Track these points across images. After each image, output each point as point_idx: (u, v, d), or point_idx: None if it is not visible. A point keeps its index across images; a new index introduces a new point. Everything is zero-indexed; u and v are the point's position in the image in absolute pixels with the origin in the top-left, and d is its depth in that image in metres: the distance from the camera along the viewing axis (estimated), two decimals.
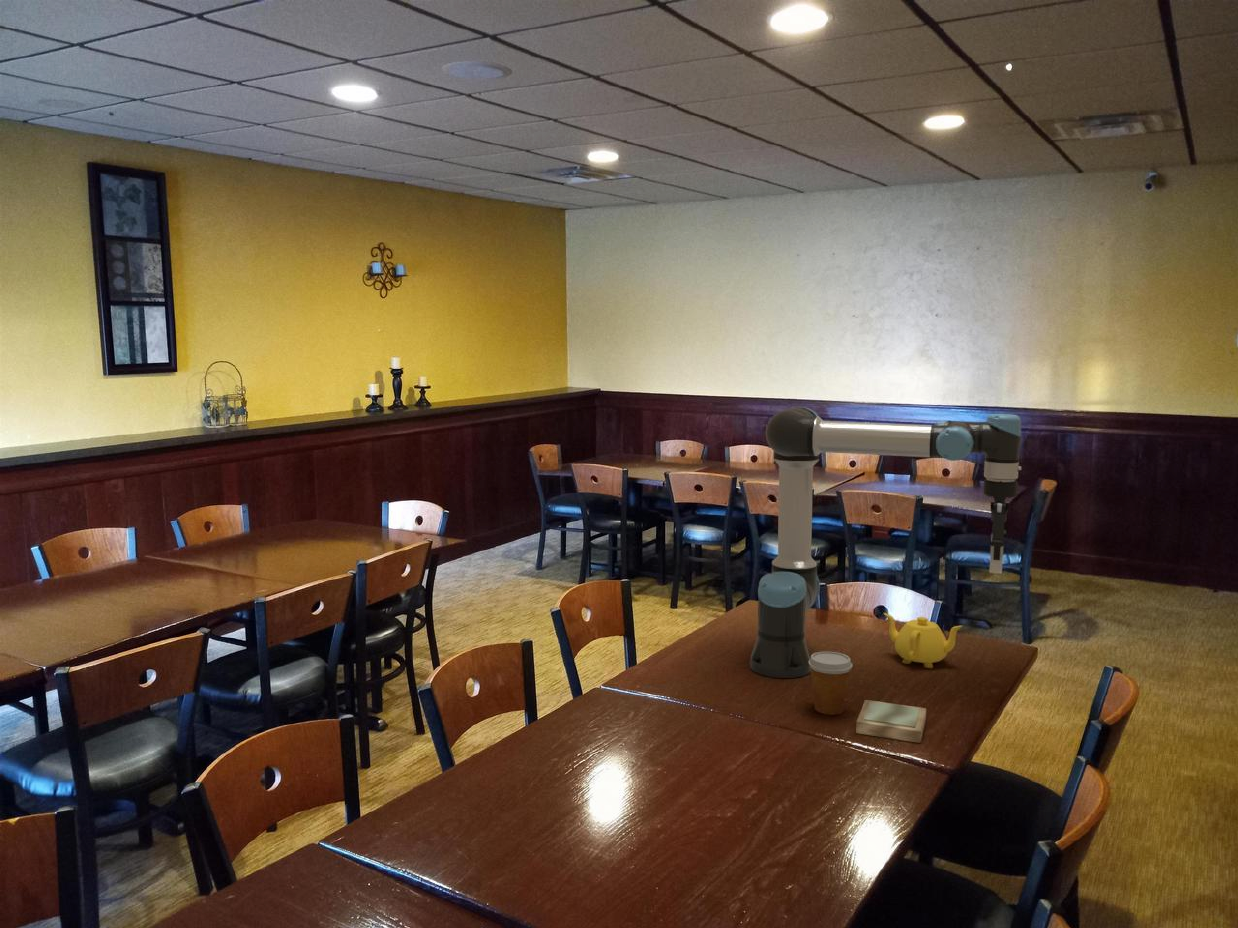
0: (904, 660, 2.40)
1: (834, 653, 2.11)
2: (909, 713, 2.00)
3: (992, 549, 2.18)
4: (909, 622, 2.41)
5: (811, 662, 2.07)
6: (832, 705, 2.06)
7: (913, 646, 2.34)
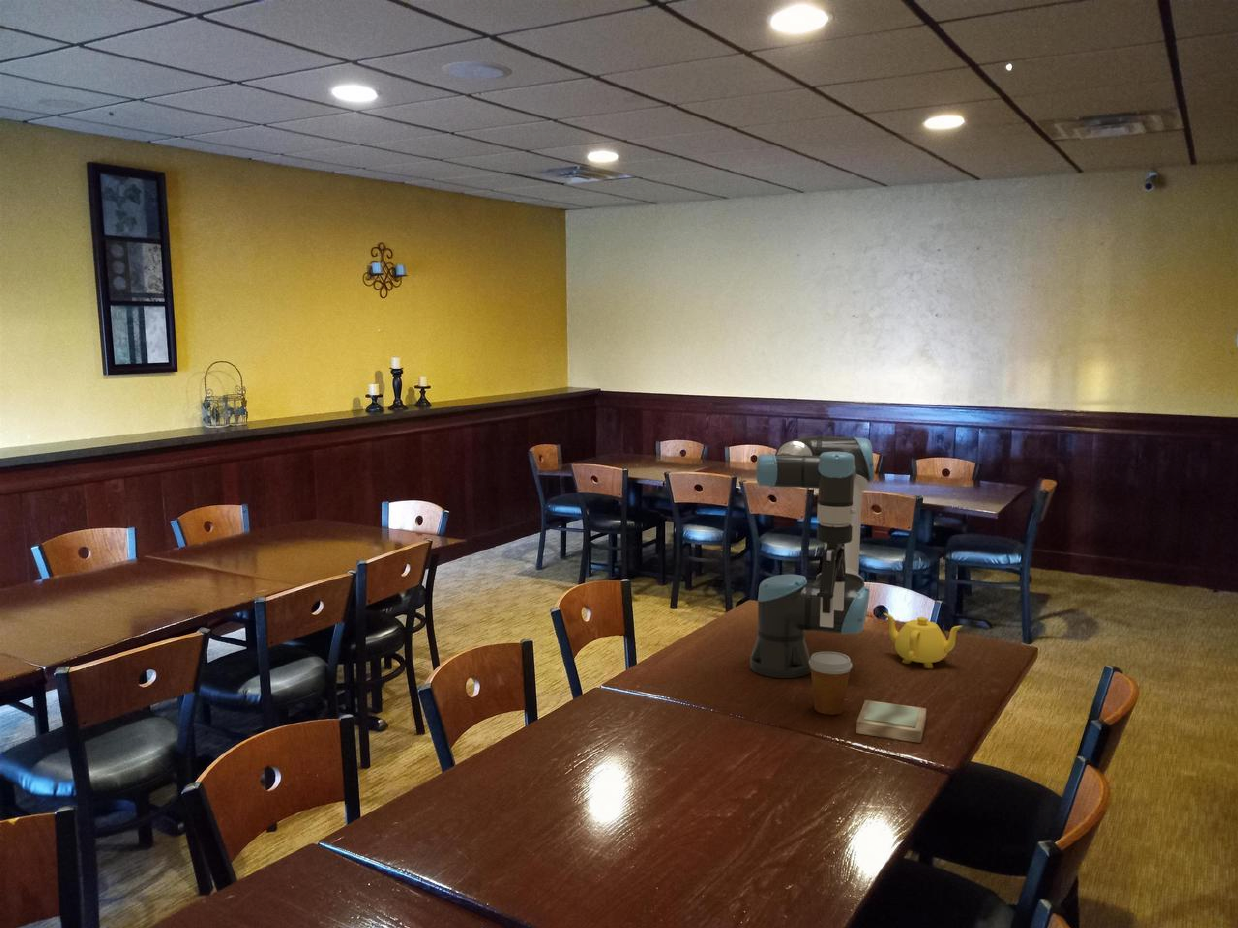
0: (904, 660, 2.40)
1: (834, 653, 2.11)
2: (909, 713, 2.00)
3: (822, 600, 2.00)
4: (909, 622, 2.41)
5: (811, 662, 2.07)
6: (832, 705, 2.06)
7: (913, 646, 2.34)
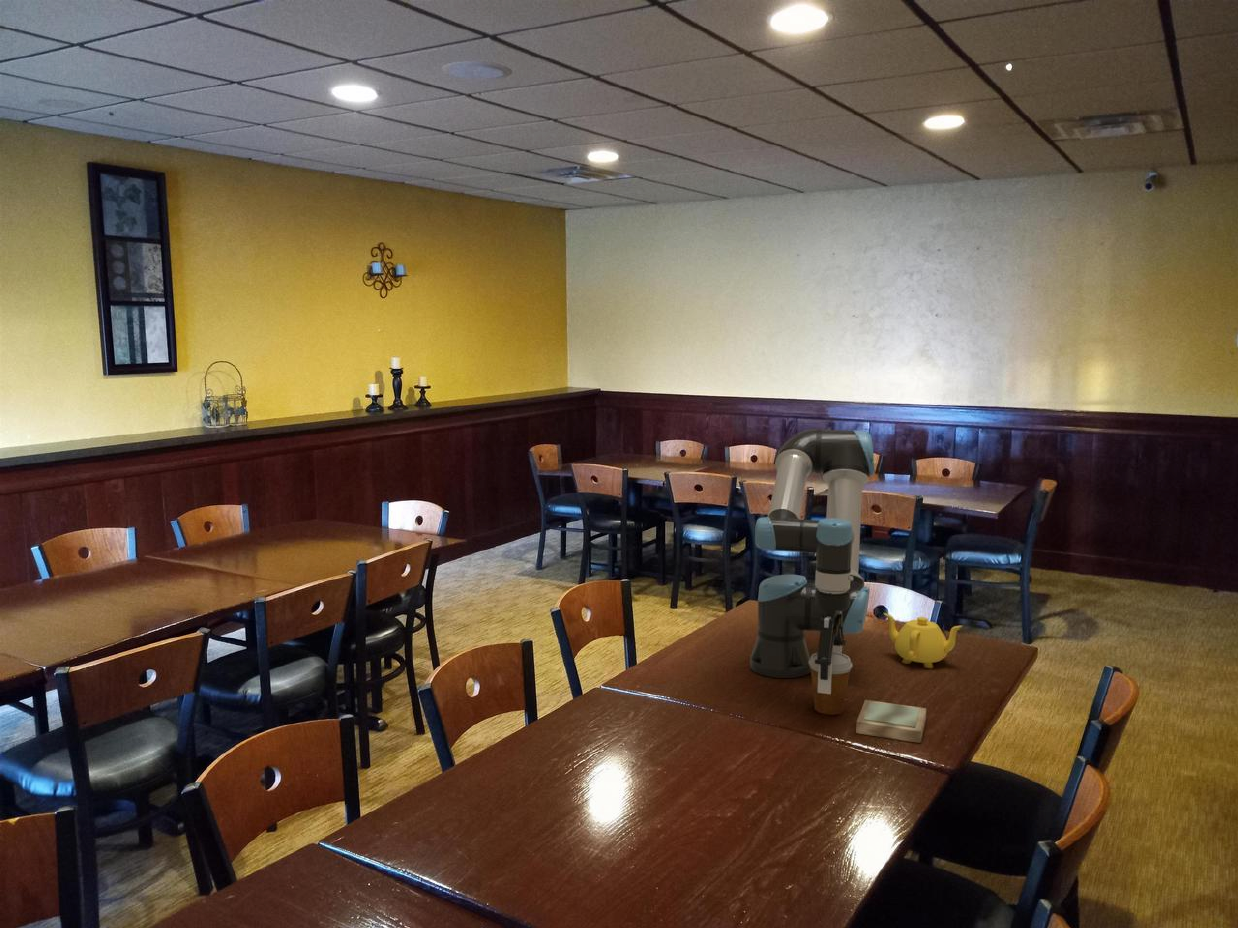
0: (904, 660, 2.40)
1: (834, 653, 2.11)
2: (909, 713, 2.00)
3: (820, 667, 2.01)
4: (909, 622, 2.41)
5: (811, 662, 2.07)
6: (832, 705, 2.06)
7: (913, 646, 2.34)
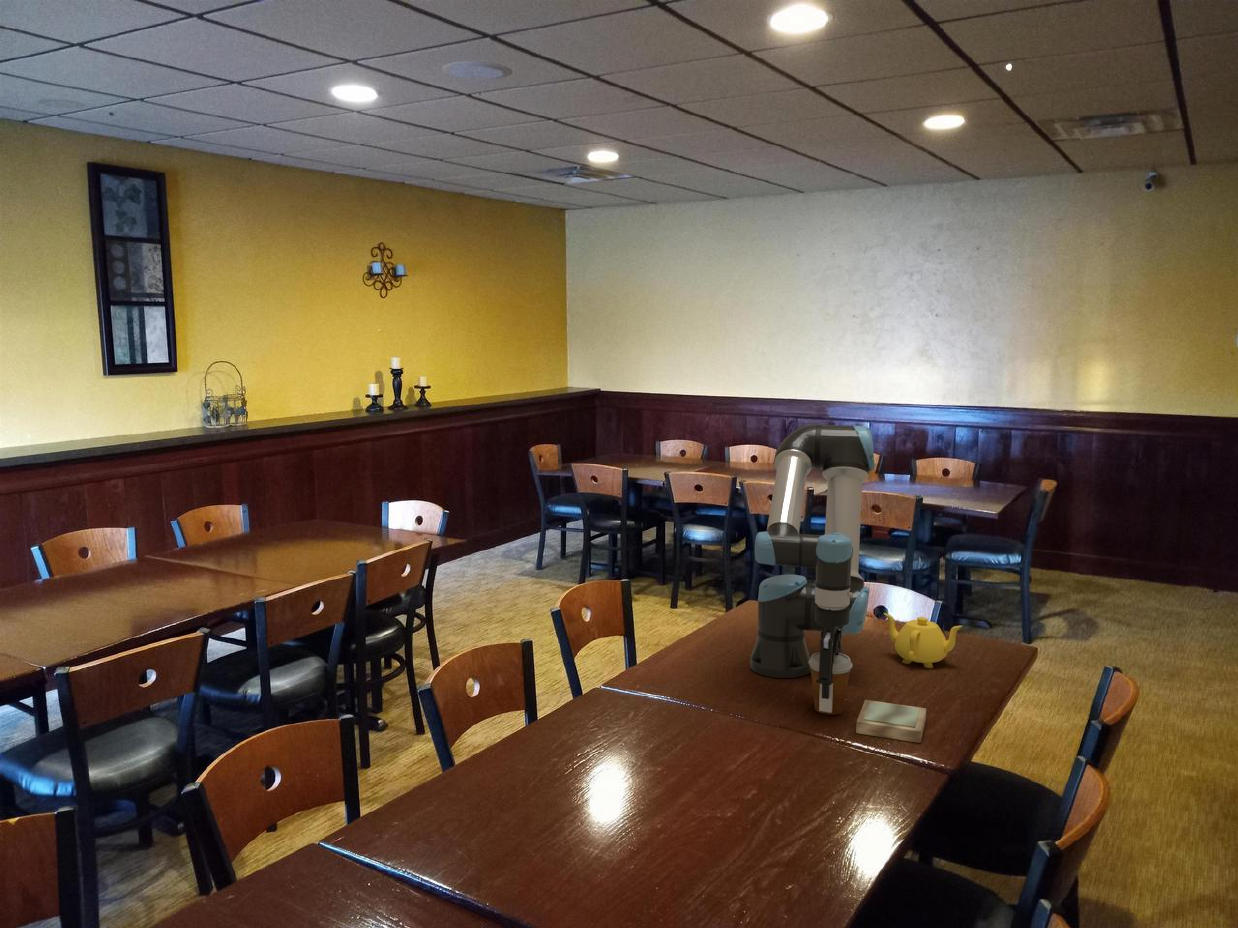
0: (904, 660, 2.40)
1: None
2: (909, 713, 2.00)
3: (821, 686, 2.04)
4: (909, 622, 2.41)
5: (811, 662, 2.07)
6: (832, 705, 2.06)
7: (913, 646, 2.34)
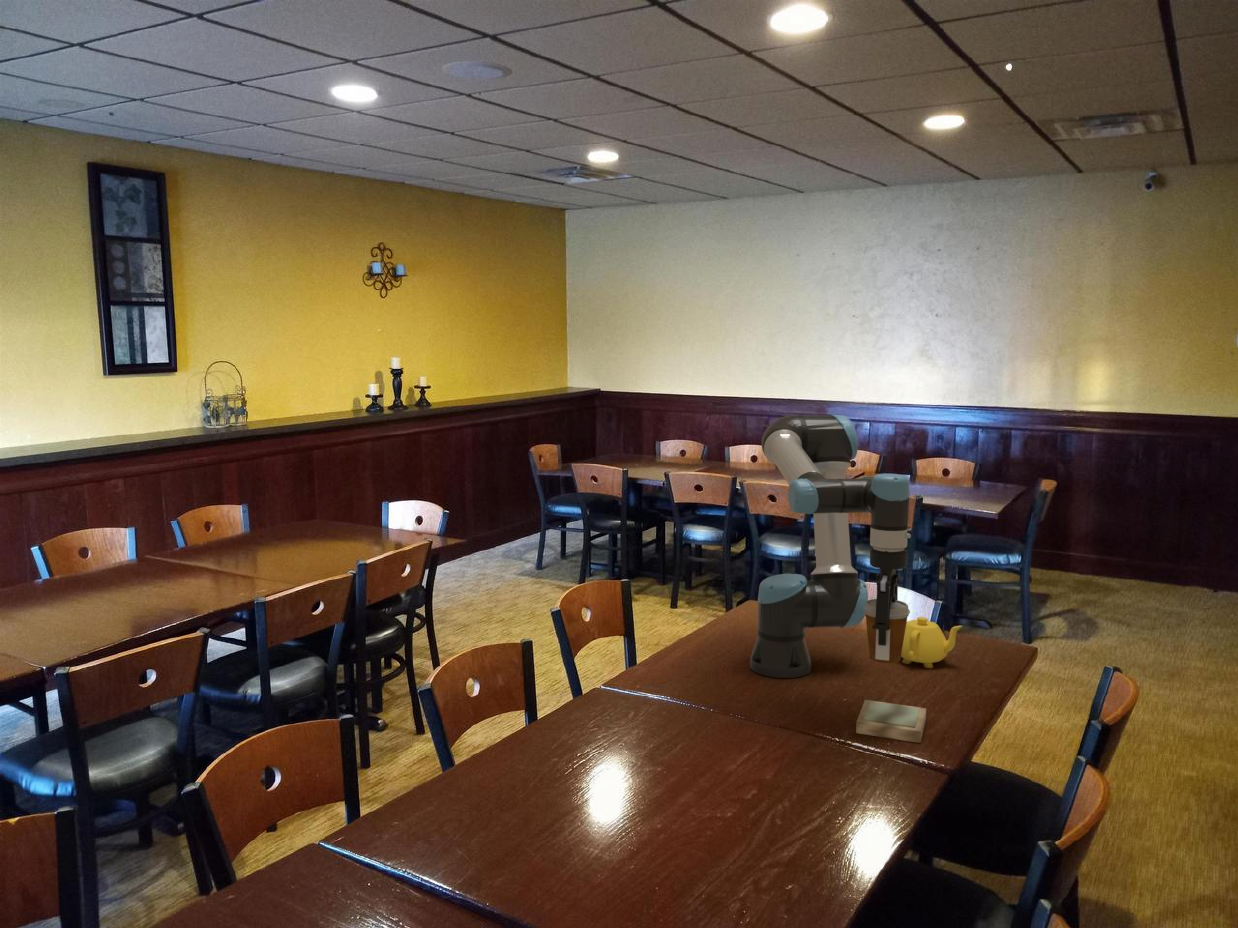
0: (904, 660, 2.40)
1: None
2: (909, 713, 2.00)
3: (877, 633, 1.94)
4: (909, 622, 2.41)
5: (866, 608, 1.97)
6: (889, 653, 1.95)
7: (913, 646, 2.34)
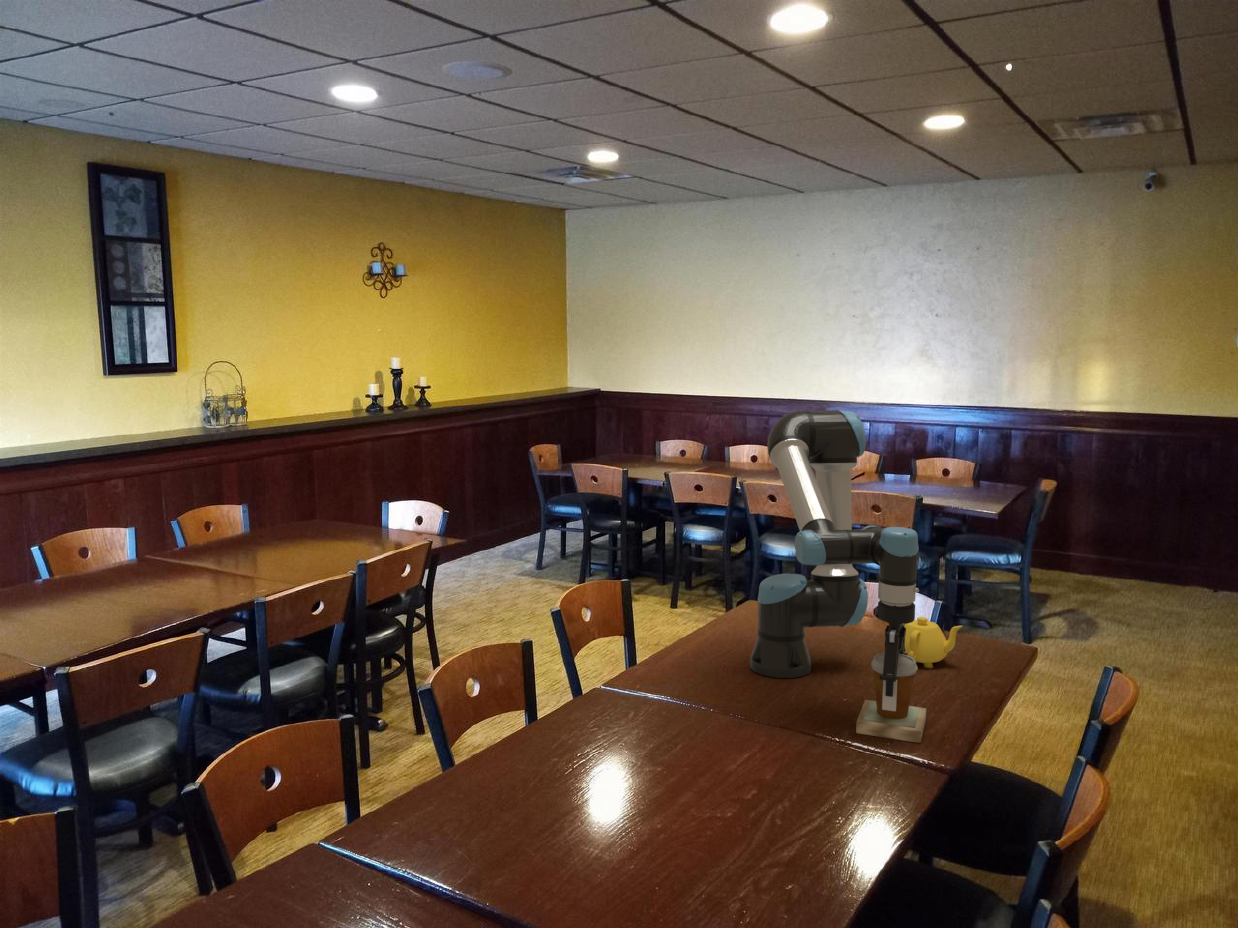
0: None
1: None
2: (909, 713, 2.00)
3: (884, 683, 1.93)
4: None
5: (874, 664, 1.98)
6: (897, 709, 1.96)
7: (913, 646, 2.34)
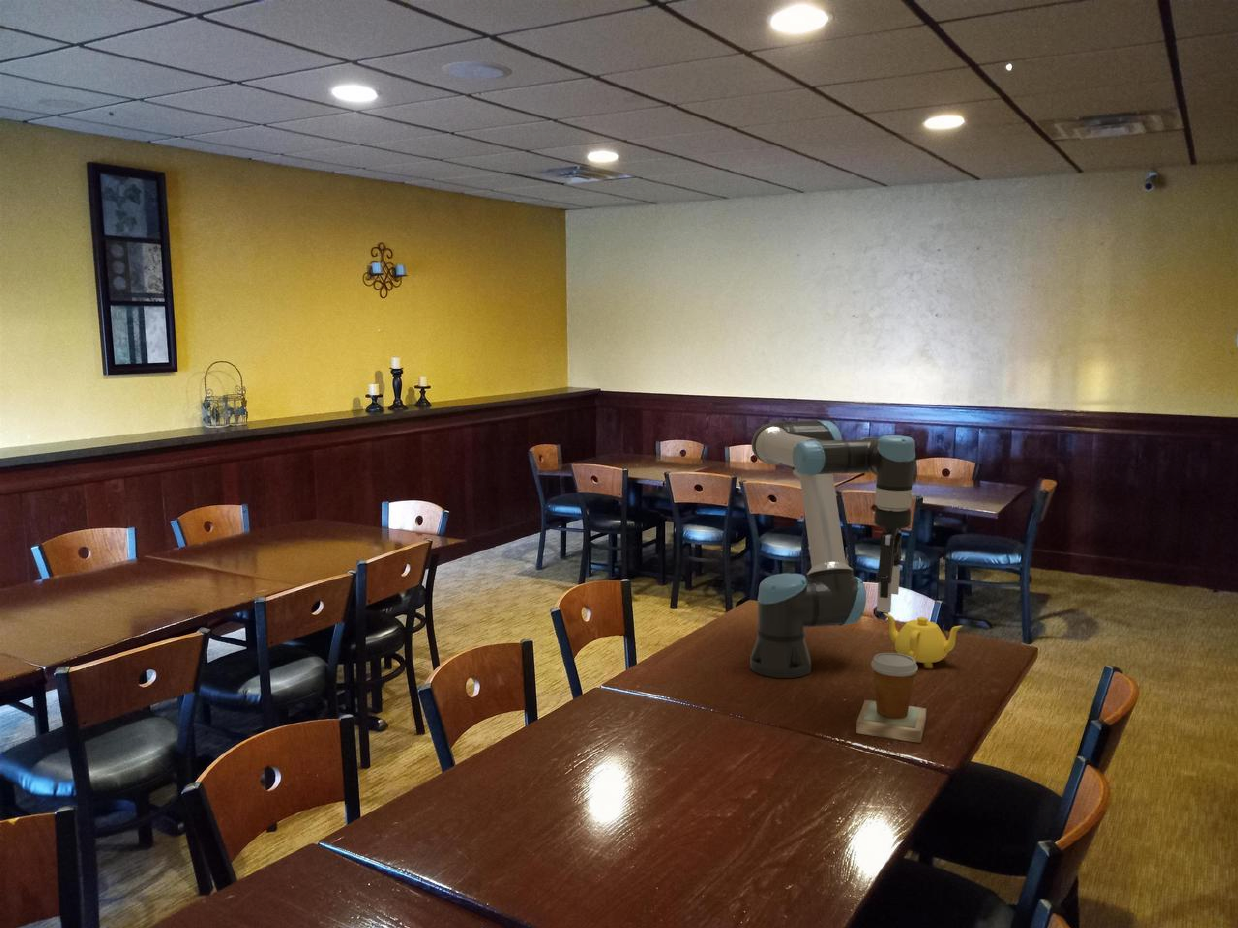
0: None
1: (897, 654, 2.02)
2: (909, 713, 2.00)
3: (880, 585, 1.98)
4: (909, 622, 2.41)
5: (874, 664, 1.98)
6: (897, 709, 1.96)
7: (913, 646, 2.34)
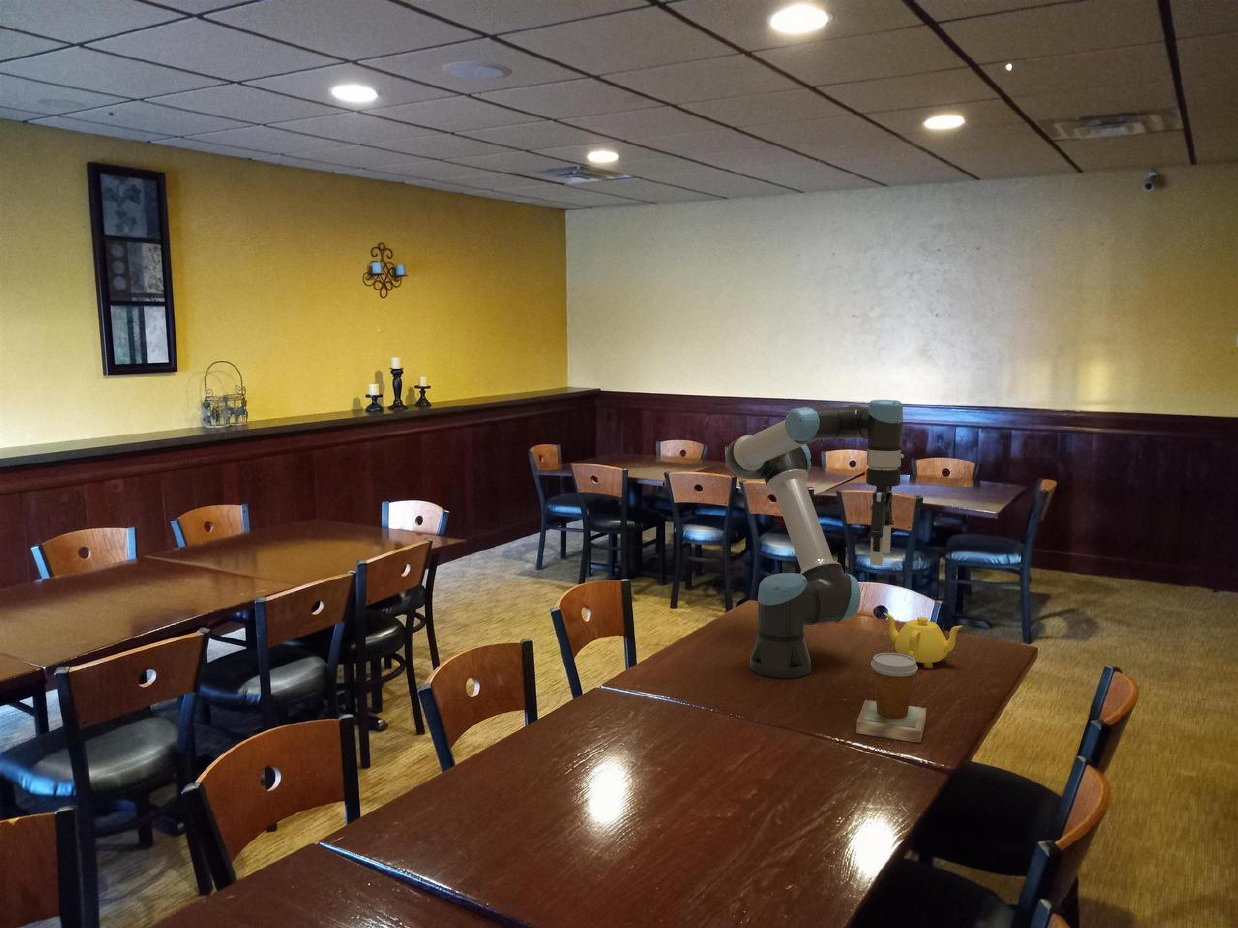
0: None
1: (897, 654, 2.02)
2: (909, 713, 2.00)
3: (872, 540, 2.10)
4: (909, 622, 2.41)
5: (874, 664, 1.98)
6: (897, 709, 1.96)
7: (913, 646, 2.34)
